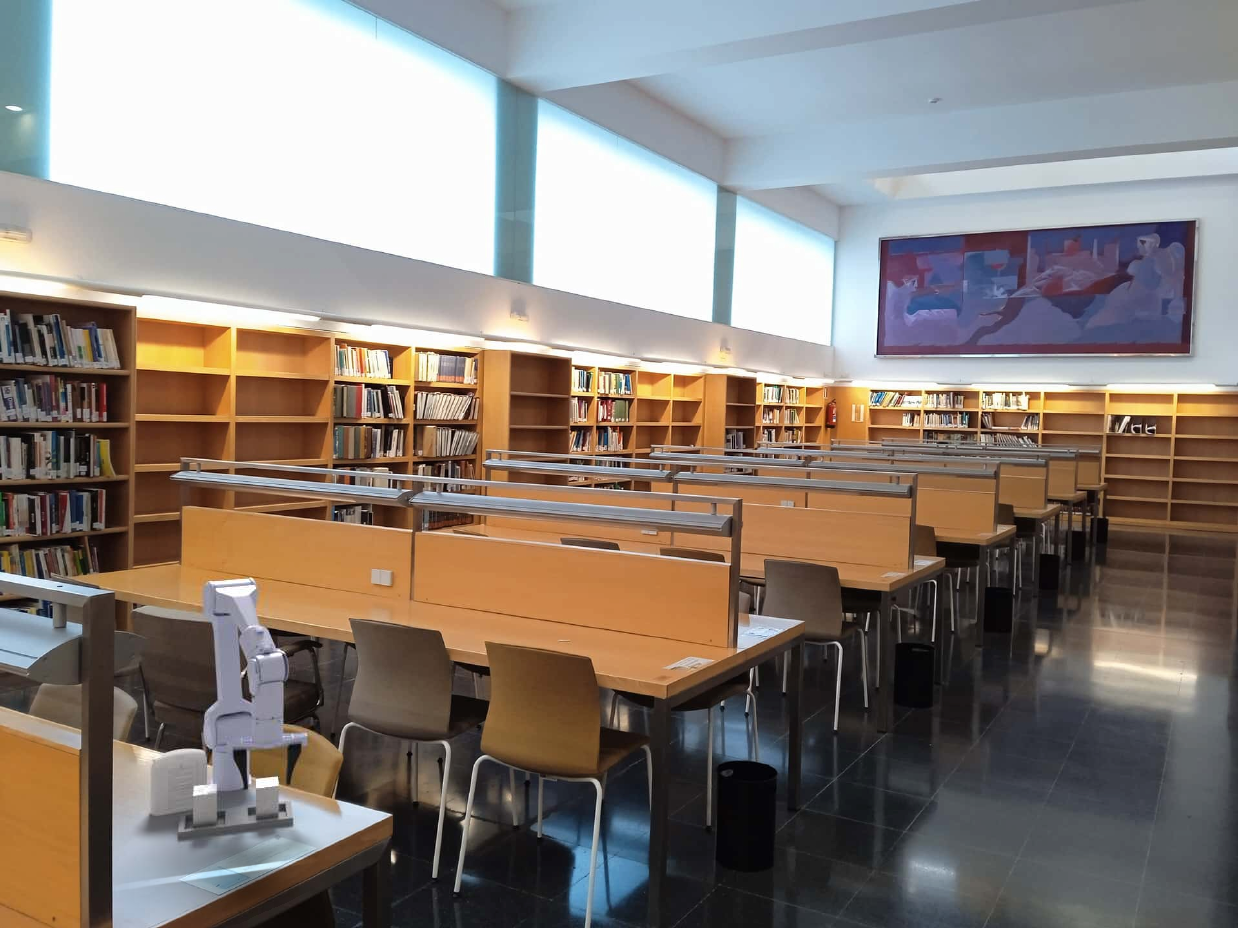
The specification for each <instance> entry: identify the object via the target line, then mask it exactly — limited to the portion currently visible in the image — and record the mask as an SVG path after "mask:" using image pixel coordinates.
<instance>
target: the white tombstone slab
mask: <svg viewBox="0 0 1238 928" xmlns="http://www.w3.org/2000/svg"><path fill="white" fill-rule="evenodd" d="M207 758H208V757H207V755H206V752H205V750H204V749H198V748H197V749H196V748H182V749H174V750H171V751H167V752H165V753H162V754H159V755H157V756H155V757H153V759H152V764H151V765H150V802H149V803H150V806H149V807H150V808H149V809H150V811H149V813H150V815H151V816H154V817H158V816H165V815H166V816H167V815H172V814H176V813H182V812H188V811H193V793H194V786H200V785H208V760H207Z"/></svg>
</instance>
